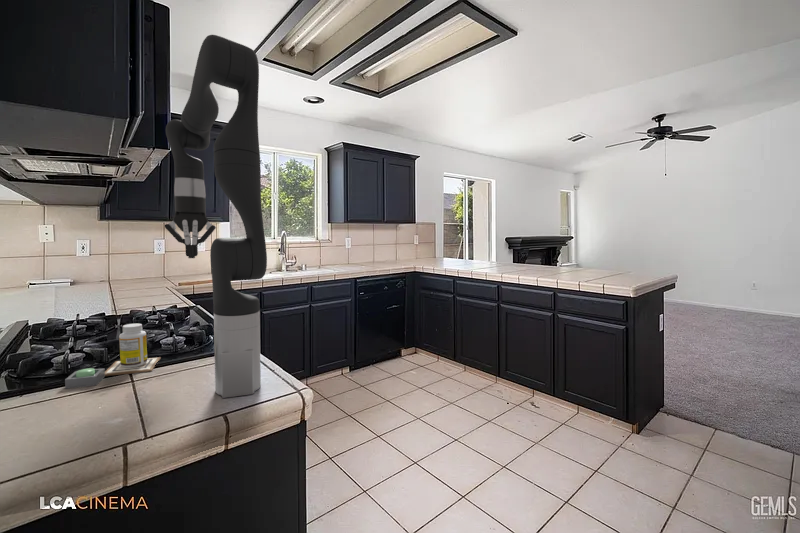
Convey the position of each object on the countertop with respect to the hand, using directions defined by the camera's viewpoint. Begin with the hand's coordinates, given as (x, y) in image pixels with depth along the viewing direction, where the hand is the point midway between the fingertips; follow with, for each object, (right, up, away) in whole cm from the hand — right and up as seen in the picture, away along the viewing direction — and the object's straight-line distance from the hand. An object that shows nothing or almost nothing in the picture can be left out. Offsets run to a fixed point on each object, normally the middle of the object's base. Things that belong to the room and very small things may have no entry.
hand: (192, 258), depth 104 cm
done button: (-12, -28, -21) cm, 37 cm away
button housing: (-12, -29, -21) cm, 37 cm away
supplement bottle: (-9, -28, -11) cm, 31 cm away
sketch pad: (-9, -28, -11) cm, 31 cm away
